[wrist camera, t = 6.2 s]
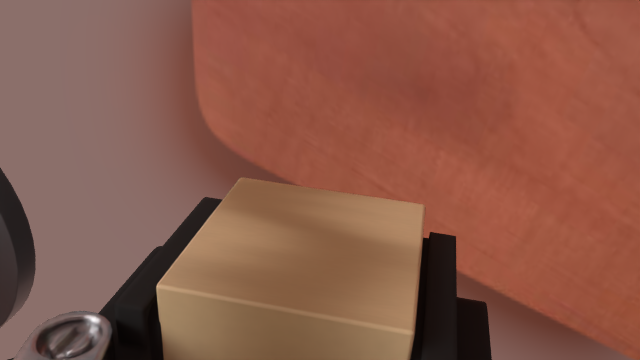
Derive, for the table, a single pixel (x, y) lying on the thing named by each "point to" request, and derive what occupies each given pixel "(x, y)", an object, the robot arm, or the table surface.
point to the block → (295, 278)
